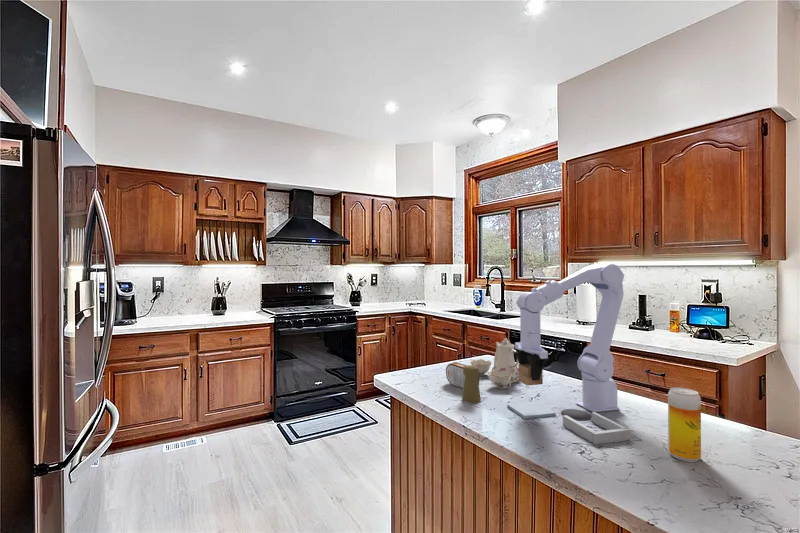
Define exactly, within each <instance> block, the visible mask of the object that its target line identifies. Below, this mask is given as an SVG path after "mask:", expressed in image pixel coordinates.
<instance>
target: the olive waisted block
mask: <svg viewBox="0 0 800 533" xmlns="http://www.w3.org/2000/svg"><path fill="white" fill-rule="evenodd" d="M463 373H464V375H465V380H464V388H463V389H462V397H461V400H462V401H463V402H465V403H469V404H477V403H480V402H481V401H482V399H481V392H480V382H479V383H478V376H479V369H478V367H476V366H472V364H470V365H468V366H465V367H464V369H463Z"/></svg>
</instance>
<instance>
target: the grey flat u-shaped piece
mask: <svg viewBox="0 0 800 533" xmlns="http://www.w3.org/2000/svg"><path fill="white" fill-rule="evenodd" d="M591 422H592V423H593V424H595V425H598V426H599V427H601V428H603V429H605V430H597V431H596V430H594V429H592V428H590V427H589V426H586V425H585V424H583V423H581V422H579V420H574V419H572V418H571V417H569V416H567V415H564V416H563V415H562V426H564V427H566V428H567V429H569V430H571V431H573V432H574V433H575V434H577V435H579V436H580V437H582V438H584V439H586V440H587V441H589V442H591V443H592V444H594V445H601V444H608V443H615V442H623V441H624V442H625V441H630V440H631V439H632V437H631V435H632V434H631V429H630V428H628V427H626V426H624V425H622V424H619V423H618V422H616V421H614V420H612V419H609V418H608V417H606V416H603V415H602V414H600V413H598V412H592V411H591Z"/></svg>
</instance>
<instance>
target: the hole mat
mask: <svg viewBox="0 0 800 533" xmlns="http://www.w3.org/2000/svg"><path fill="white" fill-rule="evenodd" d="M560 414H561V416H562V417H563V416H564V415H567V416H569V417H571V418H572V419H574V420H576V421H587V420H590V419H592V414H590V413H589V412H587V411H584V410H582V409H577V408H576V409H575V408H567V409H566V408H564V409H563V410H561V412H560Z"/></svg>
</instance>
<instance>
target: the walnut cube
mask: <svg viewBox="0 0 800 533" xmlns="http://www.w3.org/2000/svg"><path fill="white" fill-rule="evenodd" d="M517 367H518V379H517V380H518V381H517V382H520V383H522V384H524V385H525V386H540V385H543V378H544V376H543V372H544V371H543V369H542V373H541V376H540V380H535V381H534V380H532V377H531V368H530V364H518V365H517Z"/></svg>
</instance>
